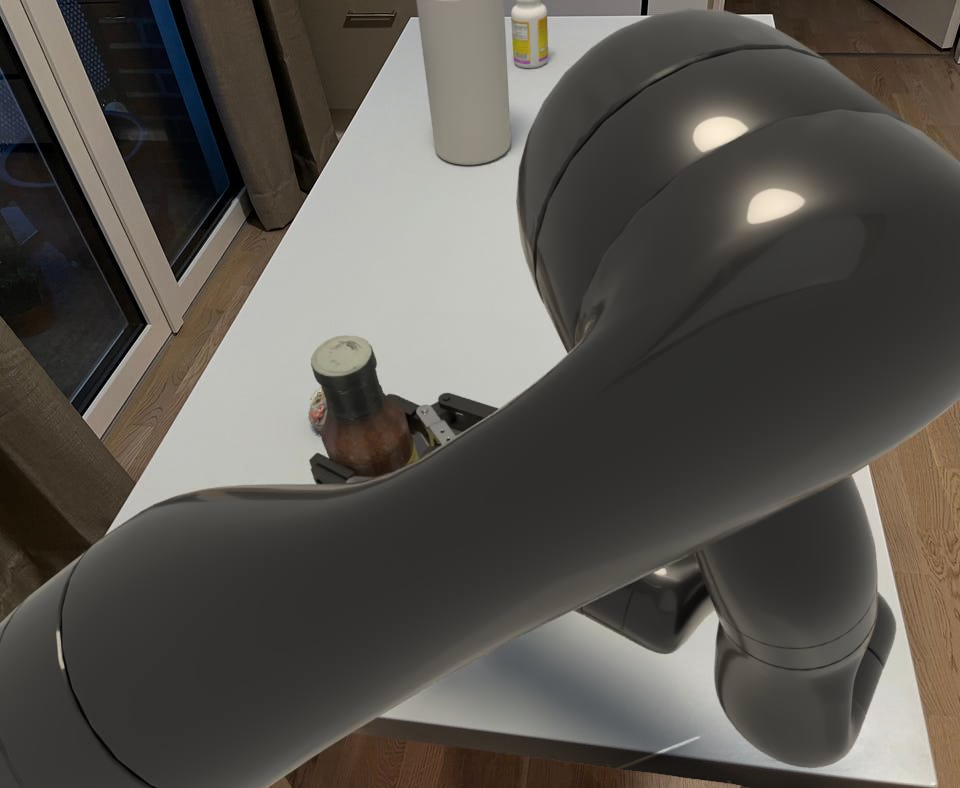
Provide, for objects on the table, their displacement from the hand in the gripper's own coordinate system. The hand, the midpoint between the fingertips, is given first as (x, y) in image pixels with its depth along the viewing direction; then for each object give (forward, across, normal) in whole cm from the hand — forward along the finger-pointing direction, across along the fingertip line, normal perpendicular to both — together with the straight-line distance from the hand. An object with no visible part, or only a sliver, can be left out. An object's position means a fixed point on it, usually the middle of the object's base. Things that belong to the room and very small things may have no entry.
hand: (347, 433), depth 58 cm
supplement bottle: (+49, -105, +20) cm, 118 cm away
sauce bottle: (-2, 0, +11) cm, 11 cm away
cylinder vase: (+40, -72, +20) cm, 85 cm away
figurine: (+19, -13, +21) cm, 31 cm away
